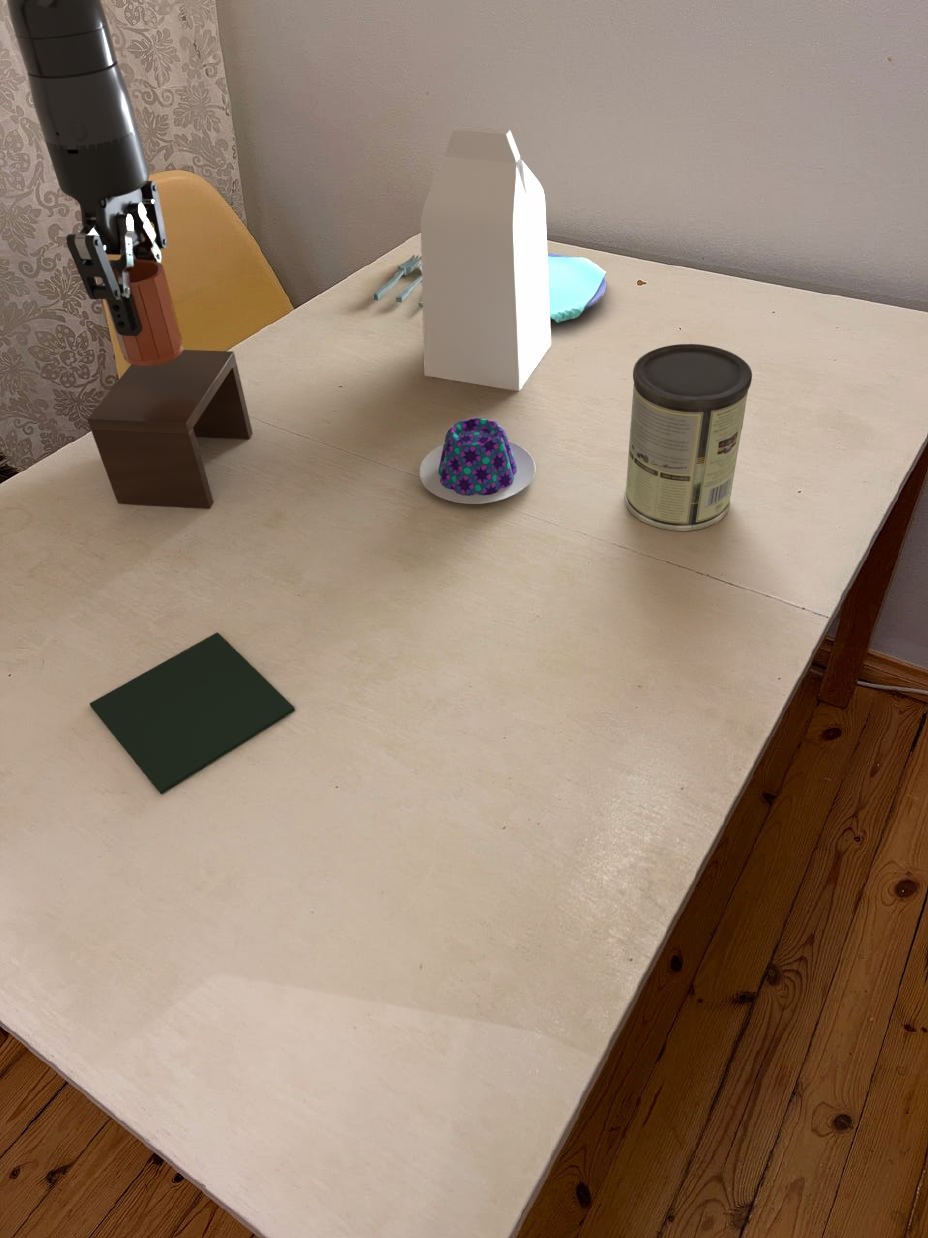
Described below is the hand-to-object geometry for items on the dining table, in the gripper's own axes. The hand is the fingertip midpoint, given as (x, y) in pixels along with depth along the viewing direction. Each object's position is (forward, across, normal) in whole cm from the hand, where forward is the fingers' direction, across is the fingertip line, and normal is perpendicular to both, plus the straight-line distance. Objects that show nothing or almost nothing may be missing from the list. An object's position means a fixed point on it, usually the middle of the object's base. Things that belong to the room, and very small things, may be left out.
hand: (143, 317), depth 91 cm
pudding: (+17, -1, +31) cm, 36 cm away
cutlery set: (+17, -44, +28) cm, 54 cm away
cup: (+4, 0, 0) cm, 4 cm away
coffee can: (+17, +1, +51) cm, 54 cm away
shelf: (+17, 0, 0) cm, 17 cm away
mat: (+17, +33, +13) cm, 39 cm away
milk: (+17, -25, +29) cm, 42 cm away
